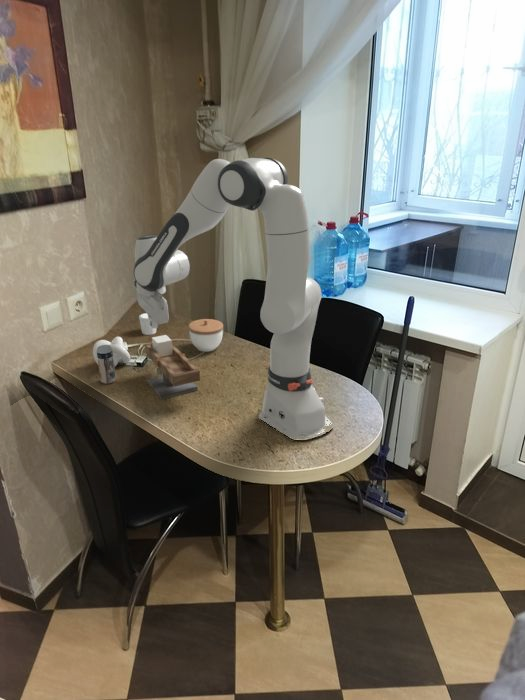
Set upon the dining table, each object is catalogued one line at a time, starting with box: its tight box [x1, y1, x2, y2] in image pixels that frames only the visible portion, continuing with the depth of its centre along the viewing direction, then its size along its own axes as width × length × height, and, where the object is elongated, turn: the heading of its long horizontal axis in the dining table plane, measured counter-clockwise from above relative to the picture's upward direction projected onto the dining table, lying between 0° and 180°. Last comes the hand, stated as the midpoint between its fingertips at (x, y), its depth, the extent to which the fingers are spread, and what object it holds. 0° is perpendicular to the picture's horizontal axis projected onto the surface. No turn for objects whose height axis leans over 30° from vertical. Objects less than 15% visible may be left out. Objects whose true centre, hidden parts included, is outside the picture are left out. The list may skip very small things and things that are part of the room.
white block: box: [151, 334, 173, 357], centre depth 160 cm, size 5×5×5 cm
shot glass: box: [138, 312, 157, 336], centre depth 197 cm, size 7×7×7 cm
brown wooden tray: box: [144, 342, 201, 400], centre depth 157 cm, size 25×12×10 cm, turn 31°
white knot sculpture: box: [92, 336, 131, 368], centre depth 170 cm, size 11×12×9 cm
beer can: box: [97, 345, 116, 385], centre depth 159 cm, size 5×5×12 cm
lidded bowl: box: [188, 318, 224, 353], centre depth 184 cm, size 13×13×11 cm
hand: (153, 326), depth 164 cm, fingers closed
